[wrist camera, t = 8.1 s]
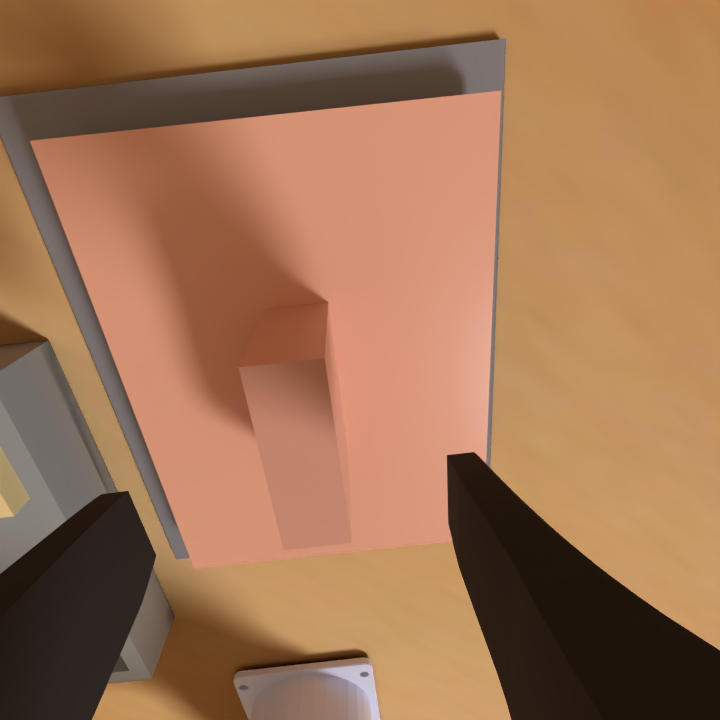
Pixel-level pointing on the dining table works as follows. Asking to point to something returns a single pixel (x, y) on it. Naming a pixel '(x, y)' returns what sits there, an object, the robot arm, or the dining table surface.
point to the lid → (296, 313)
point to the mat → (215, 103)
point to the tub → (59, 482)
